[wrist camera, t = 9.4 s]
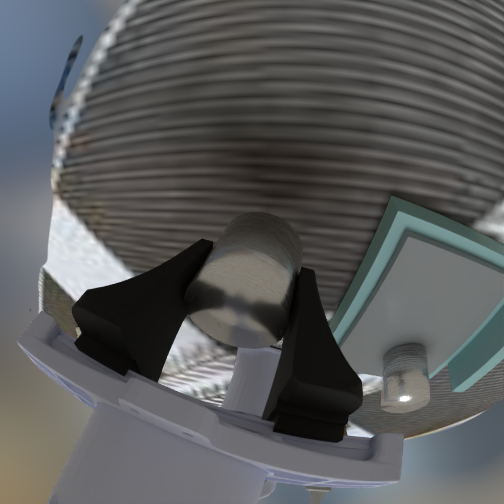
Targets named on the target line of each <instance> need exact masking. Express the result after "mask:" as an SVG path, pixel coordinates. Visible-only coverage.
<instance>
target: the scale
mask: <svg viewBox="0 0 504 504" xmlns="http://www.w3.org/2000/svg"><path fill="white" fill-rule="evenodd" d="M405 230H408V231H411V232H413V233H416V234H419V235H422V236H424V237H427V238H430V239H432V240H435V241H437V242H440V243H442V244H445V245H448V246H450V247H453V248H455V249H457V250H460V251H462V252H465V253H467V254H470V255H472V256H474V257H477V258H479V259H481V260H483V261H486V262H488V263H490V264H492V265H495V266H497V267H499V268H501V269H503V270H504V245H503V244H501V243H499V242H497V241H495V240H493V239H491V238H489V237H488V236H486V235H484V234H482V233H479V232H477V231H475V230H473V229H471V228H469V227H467V226H465V225H463V224H461V223H458V222H456V221H454V220H452V219H449V218H447V217H445V216H443V215H440V214H438V213H436V212H433V211H431V210H428V209H426V208H423V207H421V206H418V205H416V204H413V203H411V202H408V201H405V200H403V199H400V198H397V197H395V196H392V195H391V198H390V200H389V203H388V205H387V207H386V210H385V212H384V215H383V217H382V219H381V222H380V224H379V226H378V229H377V231H376V233H375V235H374V238H373V240H372V242H371V244H370V246H369V248H368V251H367V253H366V255H365V257H364V259H363V261H362V263H361V265H360V267H359V269H358V271H357V273H356V275H355V277H354V279H353V281H352V283H351V285H350V287H349V289H348V291H347V293H346V295H345V296H344V298H343V300H342V302H341V304H340V306H339V308H338V309H337V311H336V313H335V315H334V317H333V318H332V320H331V322H330V324H329V327H330V329H331V331H332V334H333V336H334V338H335V340H336V342H337V344H339V343H340V341H341V340H342V339H343V337H344V336H345V334H346V333H347V331H348V330H349V328H350V327H351V325H352V324H353V322H354V321H355V319H356V317H357V316H358V314H359V313H360V311H361V310H362V308H363V306H364V305H365V303H366V302H367V300H368V298H369V297H370V295H371V293H372V292H373V290H374V288H375V287H376V285H377V283H378V281H379V280H380V278H381V276H382V274H383V273H384V271H385V269H386V267H387V265H388V263H389V262H390V260H391V258H392V256H393V254H394V252H395V250H396V248H397V246H398V244H399V242H400V240H401V238H402V236H403V234H404V232H405ZM503 358H504V298H503V299H502V300H501V302H500V303H499V304H498V305H497V307H496V308H495V309H494V310H493V312H492V313H491V314H490V315H489V316H488V318H487V319H486V320H485V321H484V322H483V323H482V324H481V326H480V327H479V328H478V329H477V330H476V331H475V332H474V333H473V334H472V335H471V336H470V337H469V339H468V340H467V341H466V342H465V343H464V344H463V345H462V346H461V347H460V348H459V349H458V350H457V351H456V352H455V353H454V354H452V355H451V356H450V357H449V358H448V359H447V360H446V361H445V362H444V363H443V364H442V365H441V366H439V367H438V368H437V369H436V370H435V371H434V372H433V373H431V374H430V375H429V379H430V378H432V377H433V376H434V375H435V374H436V373H438V372H439V371H440V370H441V369H442V368H443V367H444V366H446V365H447V364H448V368H449V375H450V382H451V390H452V391H455V392H464V391H465V390H466V389H468V388H469V387H470V386H472V385H473V384H474V383H475V382H477V381H478V380H479V379H480V378H482V377H483V376H484V375H485V374H486V373H488V372H489V371H490V370H491V369H492V368H493V367H495V366H496V365H497V364H498V363H499V362H500V361H501V360H502V359H503Z"/></svg>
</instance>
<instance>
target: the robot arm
mask: <svg viewBox="0 0 504 504" xmlns="http://www.w3.org/2000/svg"><path fill="white" fill-rule="evenodd" d="M212 249H213V242H212V241H209V240H205V239H201V240H199V241H198V242H196V243H195V244H193V245H192V246H190V247H189V248H187V249H186V250H184V251H182V252H181V253H179V254H178V255H176V256H175V257H173V258H171V259H170V260H168V261H166V262H165V263H163V264H161V265H159V266H158V267H156V268H154V269H152V270H150V271H147V272H145V273H143V274H141V275H138V276H136V277H133V278H130V279H128V280H125V281H122V282H119V283H115V284H112V285H108V286H104V287H99V288H94V289H88V290H87V291H86V292H85V293H84V294H83V295H82V296H81V297H80V298H79V300H78V301H77V302H76V303H75V304H74V306H73V307H72V314H73V317H74V319H75V321H76V323H77V324H78V326H79V328H80V330H81V332H82V333H81V334H80V335H79V337H78V338H77V340H76V339H74V338H73V337H71V336H70V335H68V334H67V333H65V332H64V331H62V330H61V328H60V326H59V324H58V323H57V322H56V321H55V320H54V319H53V318H52V317H50V316H49V315H47V314H46V313H45V312H43V311H41V312H40V313H39V314H38V315H37V317H36V318H35V319H34V320H33V322H32V323H31V324H30V325H29V327H28V328H27V329H26V330H25V332H24V333H23V334H22V335H21V337H20V338H19V339H18V341H17V343H18V345H19V346H20V347H21V348H22V349H23V351H24V352H25V353H26V354H27V355H28V357H29V358H30V359H31V360H32V361H33V362H34V363H35V364H36V366H37V367H39V368H40V369H41V370H42V371H43V372H45V373H46V374H47V375H48V376H49V377H51V378H52V379H53V380H54V381H56V382H57V383H58V384H59V385H61V386H62V387H63V388H64V389H66V390H67V391H69V392H70V393H71V394H72V395H74V396H75V397H77V398H78V399H79V400H81V401H82V402H84V403H85V404H86V405H88V406H89V407H91V408H92V409H94V411H93V413H92V415H91V417H90V418H89V420H88V422H87V424H86V426H85V427H84V429H83V431H82V433H81V435H80V436H79V438H78V440H77V442H76V444H75V446H74V448H73V450H72V452H71V454H70V455H69V458H68V459H67V461H66V463H65V465H64V467H63V469H62V471H61V474H60V475H59V477H58V479H57V482H56V484H55V486H54V488H53V490H52V493H51V495H50V497H49V499H48V501H47V504H258V501H259V499H261V498H264V497H267V496H269V495H270V494H271V492H273V491H274V490H275V487H276V484H277V482H282V483H290V484H298V485H307V486H320V487H341V488H372V487H378V486H383V485H388V484H393V483H397V482H399V481H400V476H401V467H402V456H403V440H404V435H403V434H392V433H381V434H377V435H375V436H373V437H372V438H366V437H356V436H347V435H344V428H345V425H346V424H347V423H348V417H349V415H350V414H352V413H353V412H354V411H356V410H357V409H358V408H359V407H360V406H361V405H362V401H363V389H362V381H361V379H360V378H359V377H358V375H357V374H356V373H355V371H354V370H353V369H352V367H351V366H350V364H349V363H348V361H347V360H346V358H345V357H344V355H343V353H342V351H341V349H340V348H339V346H338V344H337V342H336V340H335V338H334V336H333V334H332V331H331V329H330V327H329V324H328V322H327V319H326V316H325V313H324V310H323V307H322V304H321V300H320V296H319V292H318V288H317V283H316V277H315V272H314V270H312V269H308V268H305V267H301V270H300V273H299V276H298V281H297V285H296V290H295V295H294V300H293V304H292V309H291V313H290V318H289V322H288V326H287V330H286V333H285V335H284V338H283V344H282V350H278V349H275V348H271V347H265V348H259V349H246V348H239V347H238V351H237V356H236V361H235V366H234V372H233V373H234V374H233V376H232V379H231V382H230V384H229V387H228V390H227V393H226V395H225V398H224V401H223V403H222V406H221V407H218V406H215V405H212V404H209V403H206V402H204V401H201V400H198V399H195V398H193V397H190V396H188V395H185V394H183V393H180V392H178V391H175V390H173V389H170V388H168V387H166V386H163V385H161V384H159V383H158V380H159V377H160V374H161V372H162V369H163V366H164V364H165V361H166V359H167V356H168V354H169V351H170V349H171V347H172V344H173V342H174V340H175V337H176V335H177V333H178V331H179V329H180V327H181V325H182V323H183V321H184V319H185V317H186V316H187V314H188V312H187V310H186V307H185V303H184V296H185V292H186V290H187V288H188V286H189V285H190V283H191V281H192V280H193V278H194V277H195V275H196V274H197V272H198V270H199V269H200V267H201V266H202V264H203V263H204V261H205V259H206V258H207V256H208V255H209V253H210V252H211V250H212Z"/></svg>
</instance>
